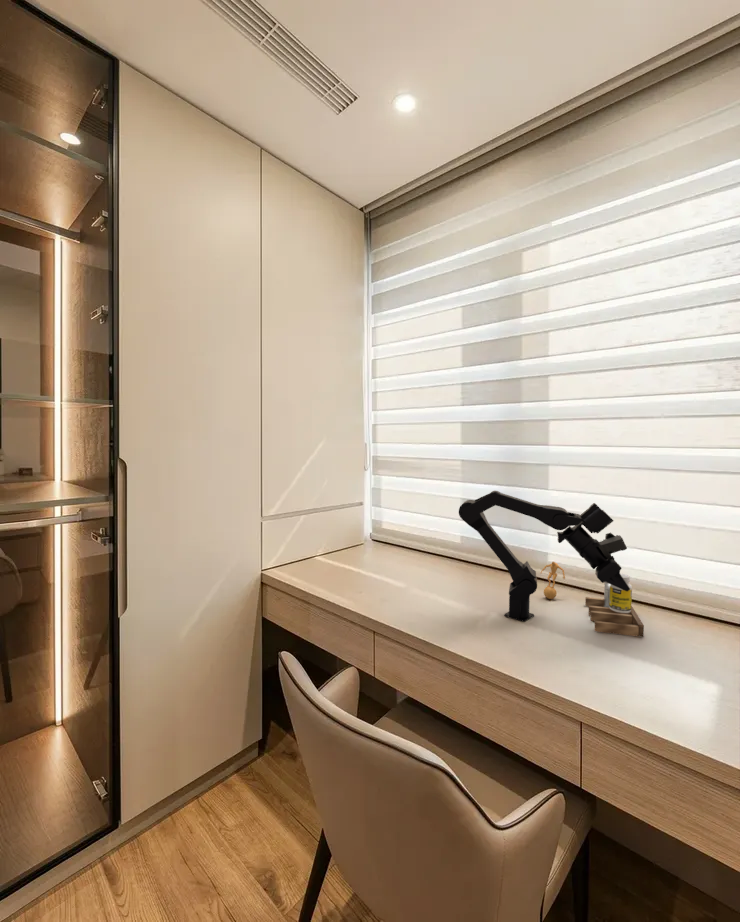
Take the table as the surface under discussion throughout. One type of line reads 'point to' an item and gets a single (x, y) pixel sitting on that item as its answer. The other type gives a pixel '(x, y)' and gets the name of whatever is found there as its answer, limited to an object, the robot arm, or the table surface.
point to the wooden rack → (613, 619)
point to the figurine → (550, 591)
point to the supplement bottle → (621, 597)
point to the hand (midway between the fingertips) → (626, 587)
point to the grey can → (606, 594)
